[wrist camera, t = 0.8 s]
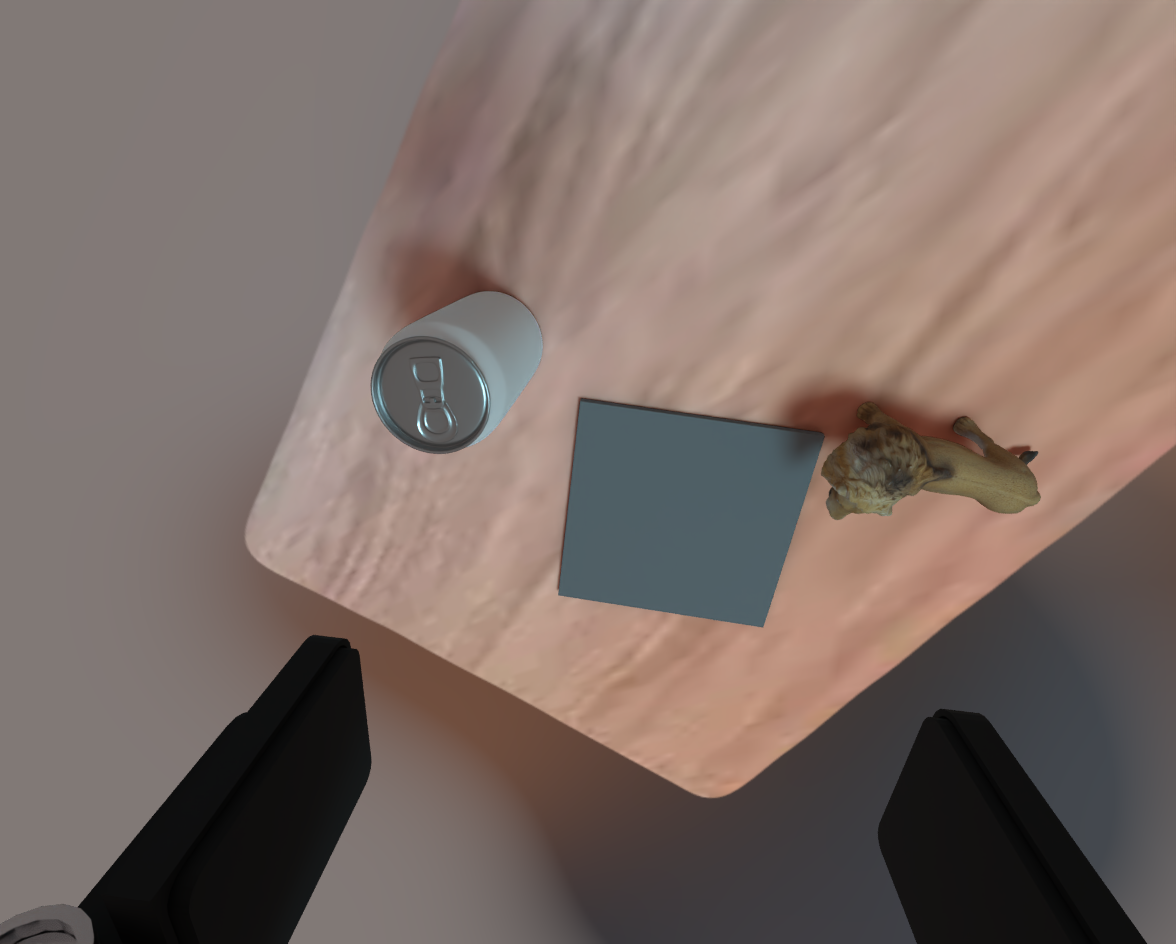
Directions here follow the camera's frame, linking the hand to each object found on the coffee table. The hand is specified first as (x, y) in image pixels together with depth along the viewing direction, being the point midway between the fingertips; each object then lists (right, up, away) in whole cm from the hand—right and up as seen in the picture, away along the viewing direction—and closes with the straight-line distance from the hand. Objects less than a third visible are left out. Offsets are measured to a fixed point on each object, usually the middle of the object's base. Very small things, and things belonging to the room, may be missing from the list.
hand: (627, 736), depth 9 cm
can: (-7, +13, +27) cm, 31 cm away
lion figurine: (+20, +6, +28) cm, 35 cm away
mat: (+6, +1, +31) cm, 32 cm away
